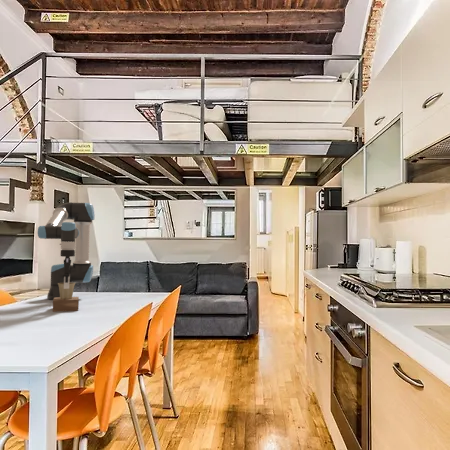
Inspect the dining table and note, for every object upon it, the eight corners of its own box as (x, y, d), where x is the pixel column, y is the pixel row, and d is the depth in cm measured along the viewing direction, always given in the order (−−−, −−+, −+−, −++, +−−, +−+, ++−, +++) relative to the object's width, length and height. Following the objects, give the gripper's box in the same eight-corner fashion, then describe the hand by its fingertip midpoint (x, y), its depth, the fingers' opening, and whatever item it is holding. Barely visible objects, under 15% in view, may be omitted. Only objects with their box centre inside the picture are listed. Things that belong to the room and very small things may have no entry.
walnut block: (53, 308, 227) (54, 297, 228) (78, 307, 232) (78, 296, 232) (52, 311, 215) (53, 300, 216) (78, 310, 220) (78, 299, 220)
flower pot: (78, 297, 228) (78, 282, 229) (70, 299, 219) (70, 284, 219) (62, 297, 229) (63, 282, 229) (53, 299, 220) (54, 283, 220)
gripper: (61, 249, 236) (60, 285, 235) (59, 249, 212) (58, 289, 211) (74, 249, 238) (73, 284, 237) (74, 249, 215) (73, 289, 214)
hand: (66, 287), depth 224 cm, fingers open, 13 cm apart
